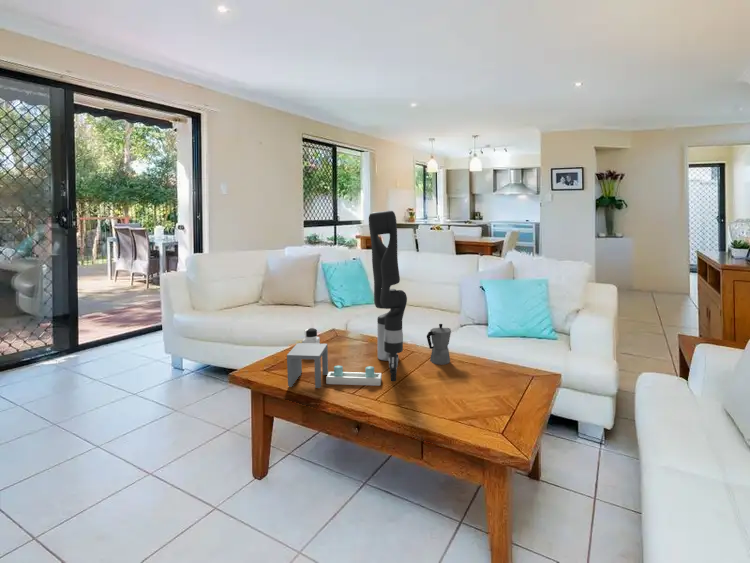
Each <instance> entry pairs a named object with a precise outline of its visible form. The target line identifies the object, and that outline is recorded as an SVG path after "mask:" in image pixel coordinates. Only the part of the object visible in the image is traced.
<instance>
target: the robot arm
mask: <svg viewBox="0 0 750 563" xmlns="http://www.w3.org/2000/svg"><path fill="white" fill-rule="evenodd" d="M397 224H398V222H397V217H396V214H395V212H394V211H393V210H382V211H374V212H371V213H369V215H368V229H369V236H370V242H371V262H372V272H373V273H372V275H373V301H374V306H375V308H377V309H384V310H388V311H387V312H386V313H383V314H379V315H378V316H377V325H376V326H377V328H376V329H377V359H378V360H381V361H384V362H385V361H386V362H387V361H388V367H389V368H388V369H389V374H390V382H393V383H394V382H396V381H397V371H398V369H397V368H399V364H398V363H399V353H402V352H403V350H404V334H403V332H404V331H403V318H404V314H405V310H406V306H407V302H408V297H407V294H406V292H404V290H401V289H398V290H397V289H395V288H391V287H392V286H395V285H398V284H400V281H401V279H400V270H399V262H398V260H399V259H398V225H397ZM379 235H389V240H388V245H387V246H386V245H385V244H384V243H383V241H382V240H381V239H380V237H379Z"/></svg>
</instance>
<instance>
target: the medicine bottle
mask: <svg viewBox="0 0 750 563" xmlns="http://www.w3.org/2000/svg"><path fill="white" fill-rule="evenodd" d="M320 339H321V338H320V336H318V330H317V328H314V327H309V328H306V329H305V330H304V337H303V339H302V341H301V343H318V344H321V340H320Z"/></svg>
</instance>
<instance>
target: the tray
mask: <svg viewBox="0 0 750 563" xmlns="http://www.w3.org/2000/svg"><path fill="white" fill-rule="evenodd" d="M364 368H365V372H360V371H359V372H358V371H357V372H356V371H355V372H354V371H353V372H352V371H344V369H343V365H335V366H333V371H328V374H327V376H326V378H325V379H326V381H325V382H326V383H325V384H326V385H348V386H349V385H350V386H351V385H352V386H381V385H382V384H381V383H382V372H375V367H374V366H366V367H364Z"/></svg>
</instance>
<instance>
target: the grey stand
mask: <svg viewBox="0 0 750 563" xmlns="http://www.w3.org/2000/svg"><path fill="white" fill-rule="evenodd" d="M328 353H329V352H328V343H320V344H318V343H302V342H296V344H295V345H294V346H293V348H292V349H291V350H289V352H287V355H286V361H287V362H286V363H287V364H286V366H287V367H286V368H287V370H286V371H287V387H288V386H289V387H292V386H293V387H294V385H295V384H294V383H296V382H297V381H296V380H297V379H299V378H300V377H301V375H302V374H303V369H302V368H303V364H302V362H303V361H302V360H314V389H315V388H320V387H321V388H322V376H323V375H327V374H328V373H329V357H328V356H329V354H328ZM321 362H322V364H321ZM321 365H322V366H321ZM321 367H322V368H321ZM301 373H302V374H301ZM299 376H300V377H299ZM298 377H299V378H298ZM295 381H296V382H295ZM293 384H294V385H293ZM293 387H292V388H293ZM321 388H320V389H321Z"/></svg>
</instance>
